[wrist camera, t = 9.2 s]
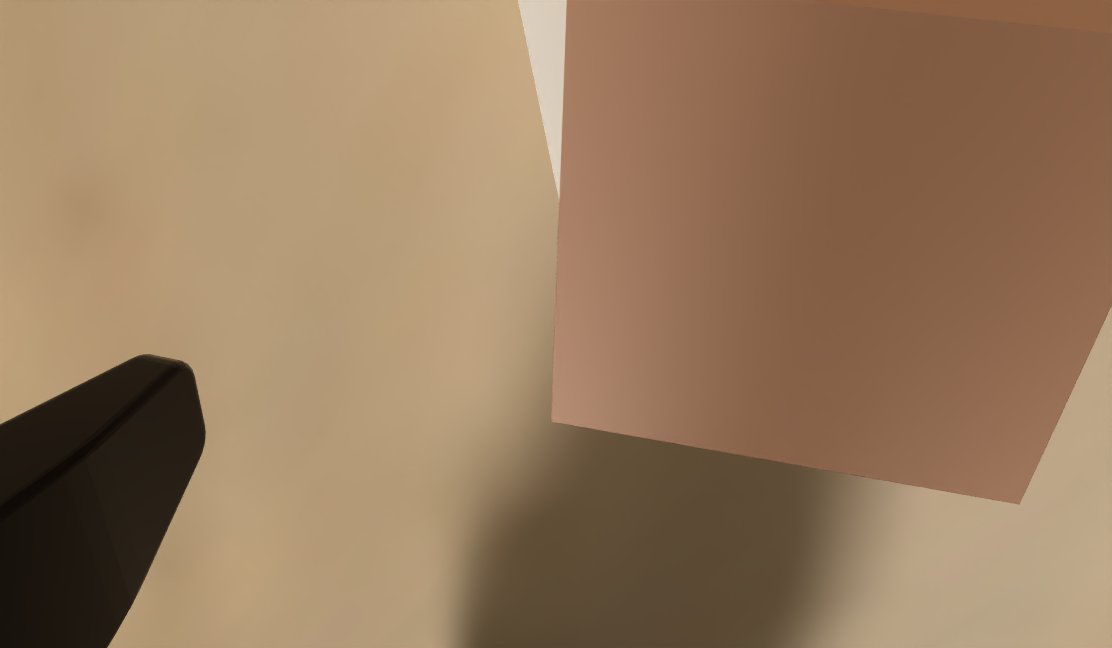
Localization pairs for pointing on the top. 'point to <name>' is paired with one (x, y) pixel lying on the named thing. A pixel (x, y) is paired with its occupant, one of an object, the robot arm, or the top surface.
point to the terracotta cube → (835, 229)
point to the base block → (547, 67)
